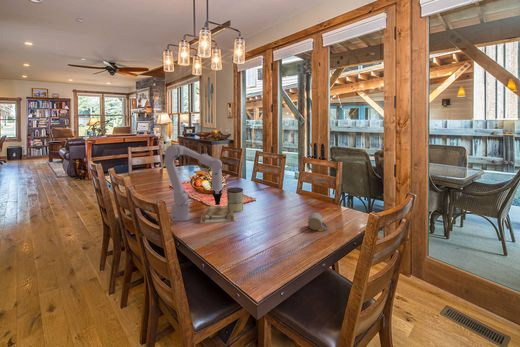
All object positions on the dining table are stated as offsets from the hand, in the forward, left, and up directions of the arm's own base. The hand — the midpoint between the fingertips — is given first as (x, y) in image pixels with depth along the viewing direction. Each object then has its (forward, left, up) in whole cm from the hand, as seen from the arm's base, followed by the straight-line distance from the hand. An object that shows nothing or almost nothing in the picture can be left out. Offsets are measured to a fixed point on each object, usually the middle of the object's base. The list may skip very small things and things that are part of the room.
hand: (217, 202), depth 171 cm
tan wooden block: (0, 0, -7) cm, 7 cm away
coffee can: (+11, +15, -10) cm, 21 cm away
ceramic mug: (+53, -23, -10) cm, 59 cm away
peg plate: (0, 0, -10) cm, 10 cm away
